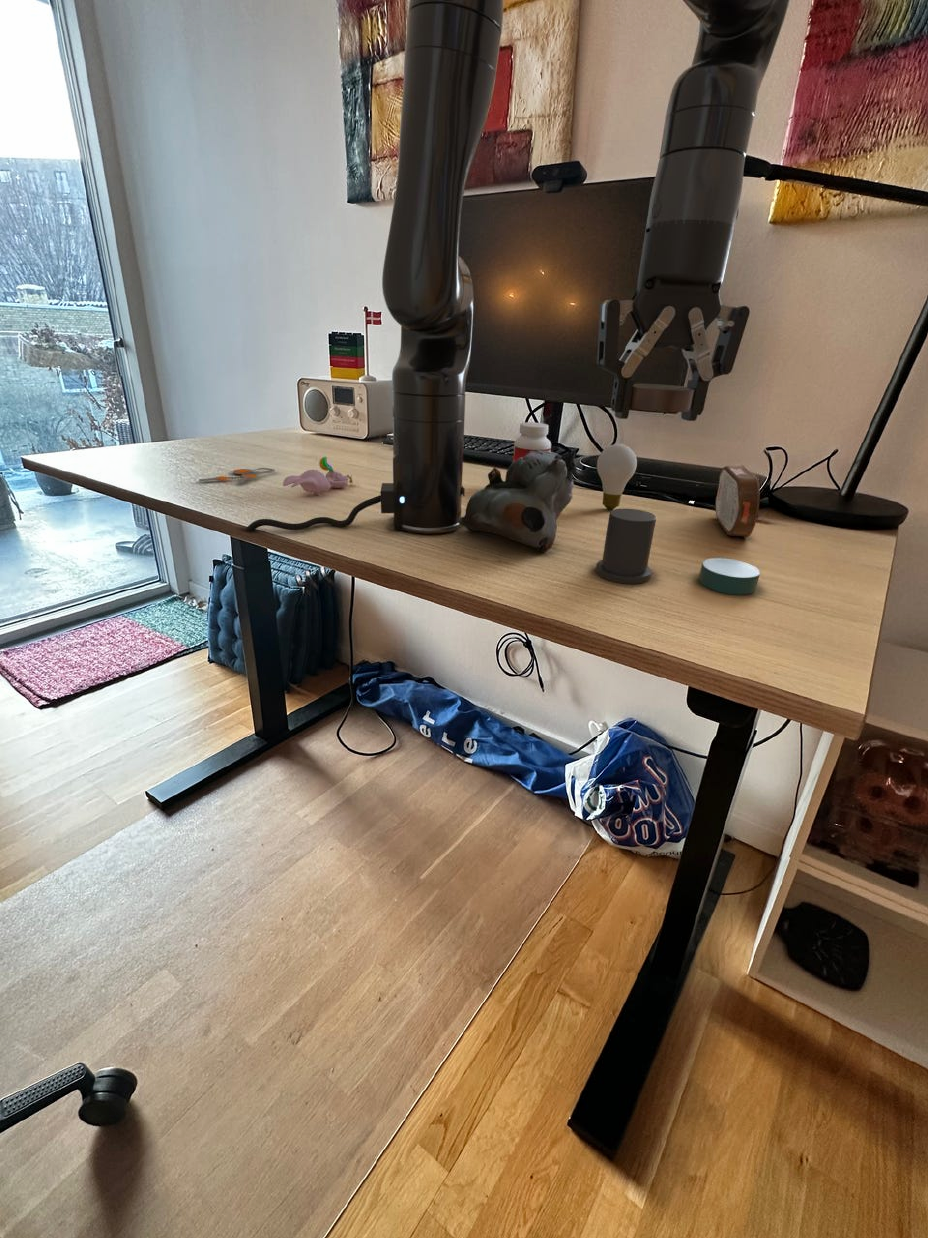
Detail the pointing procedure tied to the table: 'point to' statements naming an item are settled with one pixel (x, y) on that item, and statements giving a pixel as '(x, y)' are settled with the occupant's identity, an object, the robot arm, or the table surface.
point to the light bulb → (615, 472)
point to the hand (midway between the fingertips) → (654, 418)
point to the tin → (737, 500)
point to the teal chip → (729, 576)
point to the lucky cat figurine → (524, 499)
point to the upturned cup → (627, 546)
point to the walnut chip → (661, 398)
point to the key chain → (244, 477)
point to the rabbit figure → (319, 479)
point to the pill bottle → (531, 439)
